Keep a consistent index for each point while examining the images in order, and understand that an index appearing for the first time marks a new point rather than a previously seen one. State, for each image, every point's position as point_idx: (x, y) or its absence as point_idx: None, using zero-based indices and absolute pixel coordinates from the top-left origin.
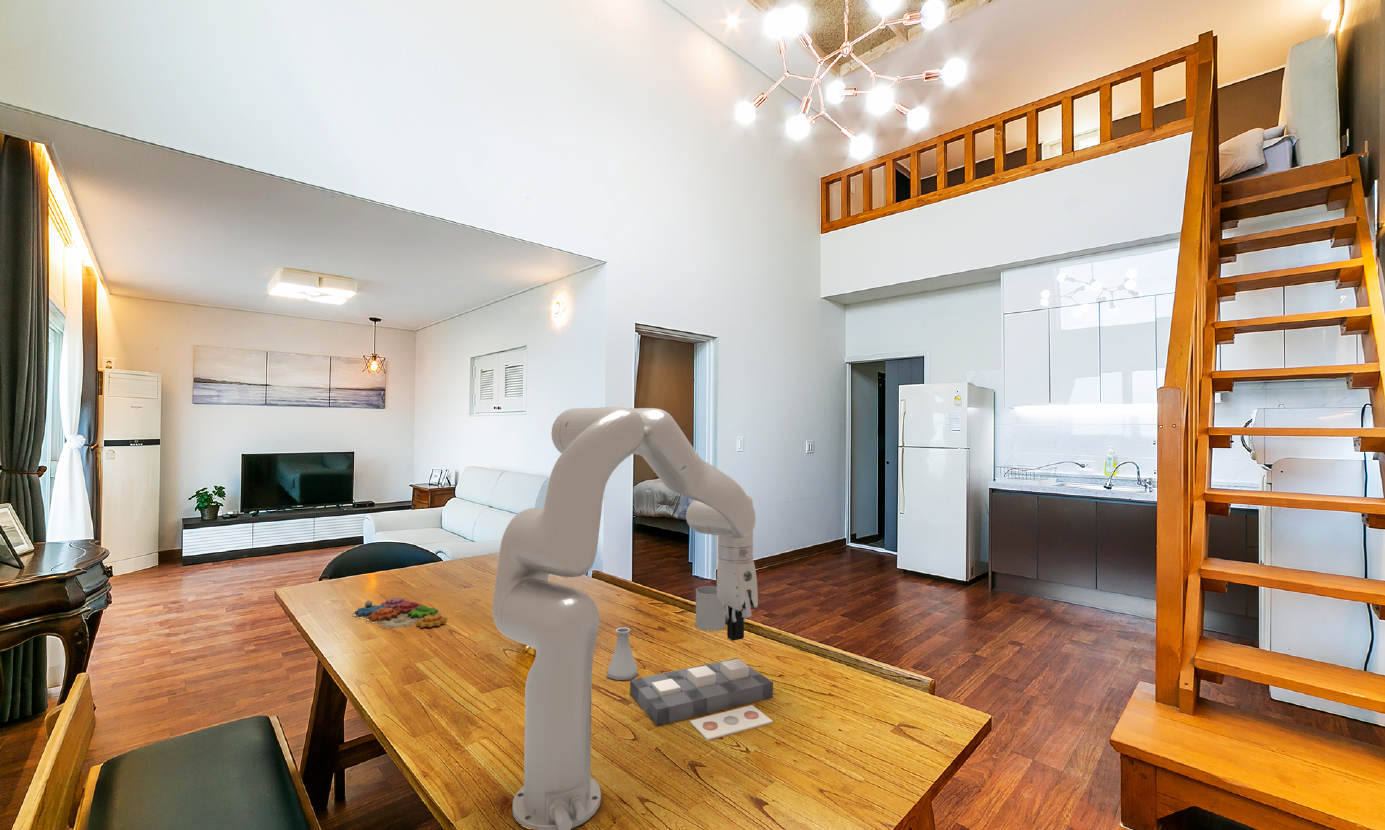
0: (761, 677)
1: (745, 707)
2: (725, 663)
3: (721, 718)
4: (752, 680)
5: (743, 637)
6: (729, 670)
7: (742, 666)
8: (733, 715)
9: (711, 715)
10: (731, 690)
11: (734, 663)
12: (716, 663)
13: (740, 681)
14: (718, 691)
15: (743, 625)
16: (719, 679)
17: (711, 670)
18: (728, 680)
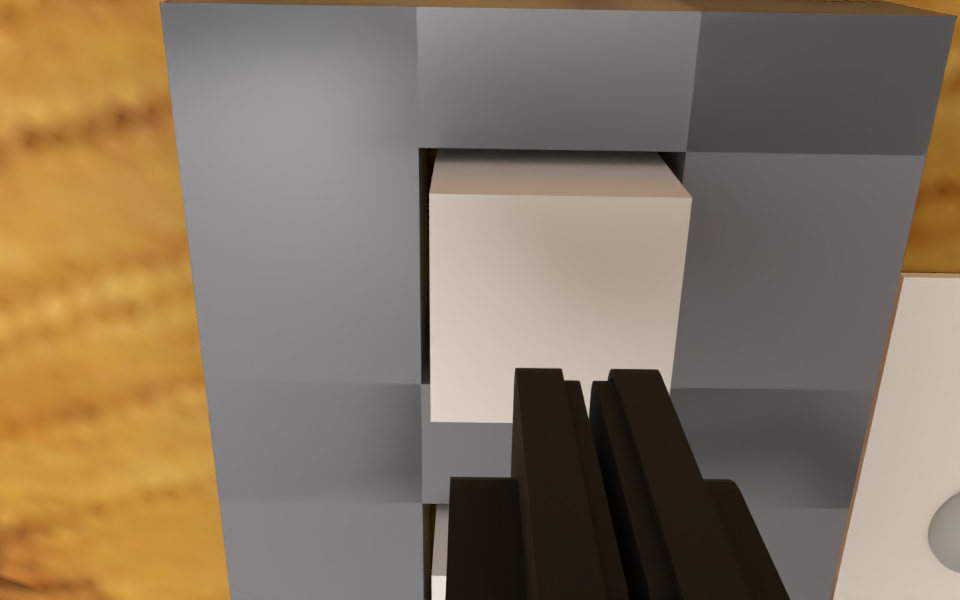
0: (777, 59)
1: (899, 346)
2: (481, 390)
3: (913, 563)
4: (779, 195)
5: (654, 374)
6: None
7: (653, 268)
8: (934, 480)
9: (837, 596)
10: (826, 472)
11: (528, 302)
12: (223, 306)
13: (726, 313)
14: (775, 566)
15: (715, 523)
16: None
17: None
18: None
